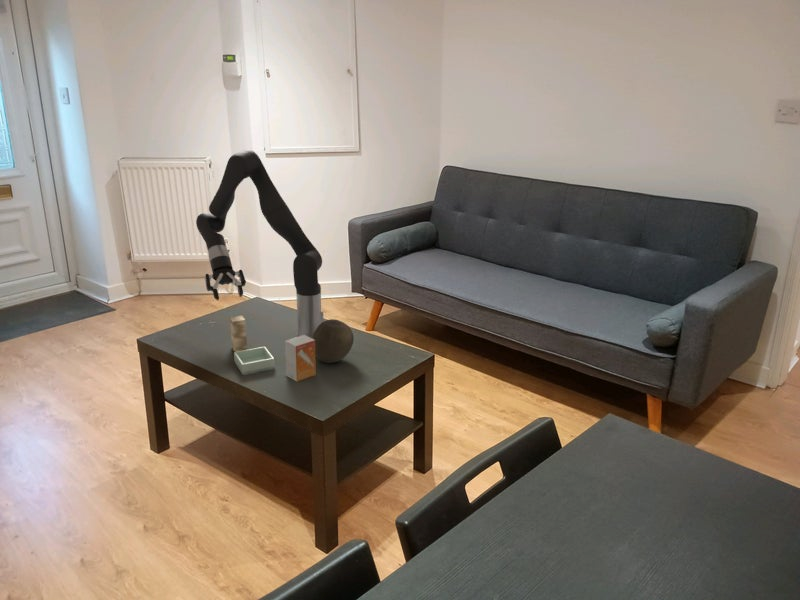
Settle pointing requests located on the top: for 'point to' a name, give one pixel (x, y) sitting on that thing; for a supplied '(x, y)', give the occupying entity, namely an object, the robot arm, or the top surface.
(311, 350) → the small box
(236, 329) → the birch block
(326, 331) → the brown leather ball
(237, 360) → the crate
